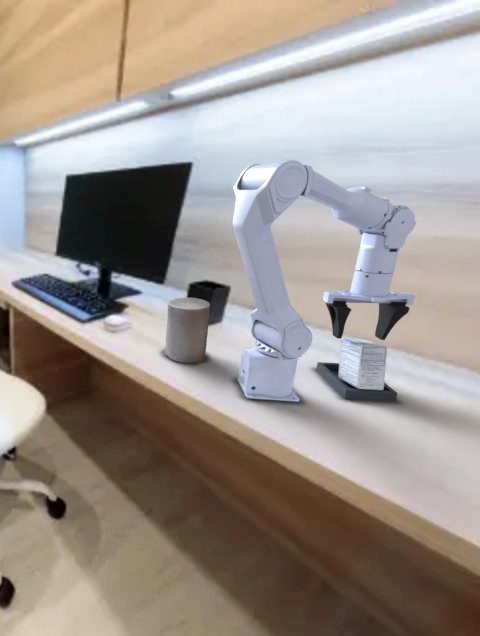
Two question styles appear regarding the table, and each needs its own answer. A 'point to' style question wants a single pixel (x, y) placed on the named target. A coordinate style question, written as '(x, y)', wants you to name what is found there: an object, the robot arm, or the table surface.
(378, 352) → the medicine box
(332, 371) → the pad
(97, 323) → the table surface
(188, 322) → the pillar candle
